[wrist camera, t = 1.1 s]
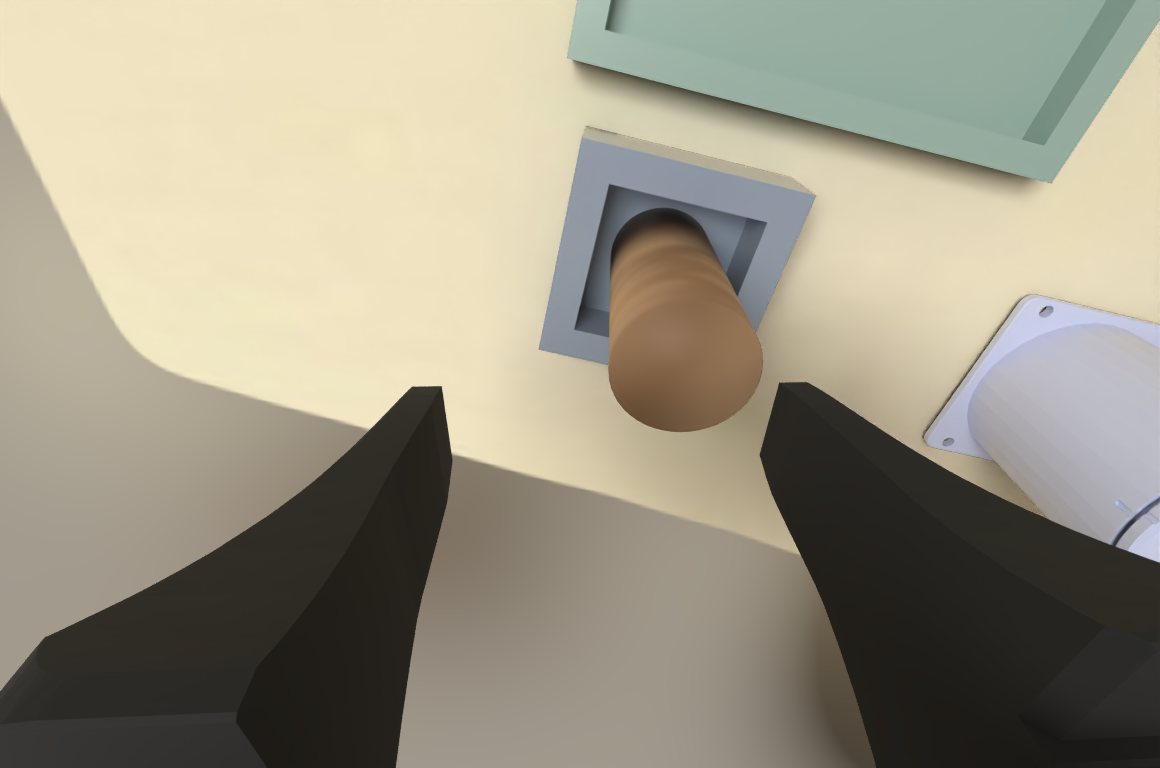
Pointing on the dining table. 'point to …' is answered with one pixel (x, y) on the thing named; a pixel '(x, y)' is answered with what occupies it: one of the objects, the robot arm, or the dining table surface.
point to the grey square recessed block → (664, 180)
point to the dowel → (676, 326)
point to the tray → (890, 65)
